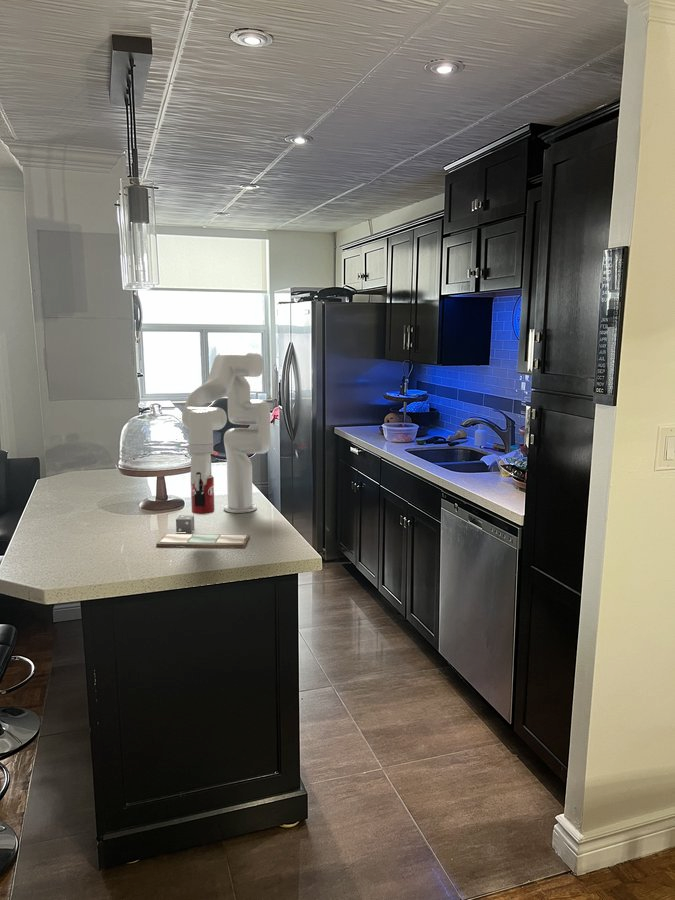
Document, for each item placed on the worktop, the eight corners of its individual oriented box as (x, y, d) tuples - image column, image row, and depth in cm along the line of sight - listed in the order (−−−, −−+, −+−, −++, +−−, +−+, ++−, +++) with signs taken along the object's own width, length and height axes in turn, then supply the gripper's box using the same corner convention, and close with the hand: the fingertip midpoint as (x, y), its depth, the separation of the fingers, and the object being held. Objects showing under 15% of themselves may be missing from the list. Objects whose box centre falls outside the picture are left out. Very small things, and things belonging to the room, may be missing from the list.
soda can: (192, 516, 211) (191, 479, 209) (191, 510, 218) (189, 474, 216) (215, 514, 213) (214, 478, 211) (213, 509, 220) (212, 473, 218)
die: (180, 529, 232) (179, 515, 231) (194, 529, 232) (194, 515, 231) (176, 533, 227) (175, 519, 226) (191, 533, 227) (190, 519, 226)
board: (165, 536, 223) (165, 533, 223) (249, 537, 222) (249, 534, 222) (156, 546, 212) (156, 543, 212) (244, 547, 212) (244, 544, 211)
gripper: (195, 444, 221) (197, 496, 224) (182, 453, 204) (184, 509, 206) (218, 444, 221) (219, 496, 223) (207, 453, 203) (208, 510, 206)
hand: (202, 502), depth 215 cm, fingers closed on soda can, 7 cm apart
